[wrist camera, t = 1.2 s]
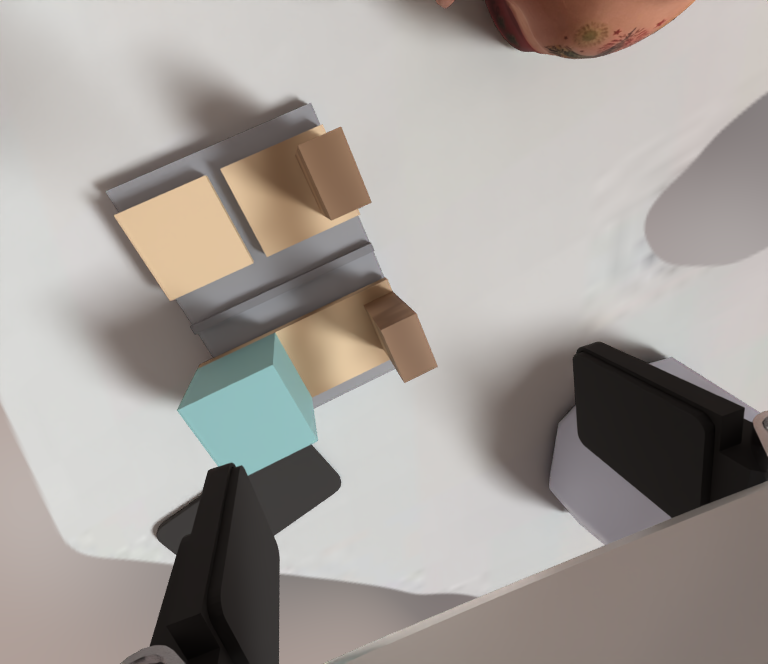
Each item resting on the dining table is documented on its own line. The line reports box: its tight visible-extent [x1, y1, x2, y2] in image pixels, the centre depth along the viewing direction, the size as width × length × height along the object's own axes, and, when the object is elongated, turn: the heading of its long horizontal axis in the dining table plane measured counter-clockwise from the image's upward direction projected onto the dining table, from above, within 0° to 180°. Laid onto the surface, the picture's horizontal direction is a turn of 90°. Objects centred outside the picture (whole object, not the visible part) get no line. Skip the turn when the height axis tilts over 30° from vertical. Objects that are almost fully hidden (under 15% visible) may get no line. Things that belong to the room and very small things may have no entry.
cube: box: [177, 333, 318, 475], centre depth 28 cm, size 6×6×6 cm
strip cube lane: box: [198, 277, 438, 397], centre depth 28 cm, size 15×6×7 cm, turn 113°
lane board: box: [105, 103, 395, 408], centre depth 30 cm, size 14×20×2 cm
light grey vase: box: [549, 357, 760, 545], centre depth 35 cm, size 20×20×19 cm
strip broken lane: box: [220, 124, 372, 257], centre depth 25 cm, size 7×6×7 cm
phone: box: [157, 445, 341, 555], centre depth 36 cm, size 7×1×15 cm
